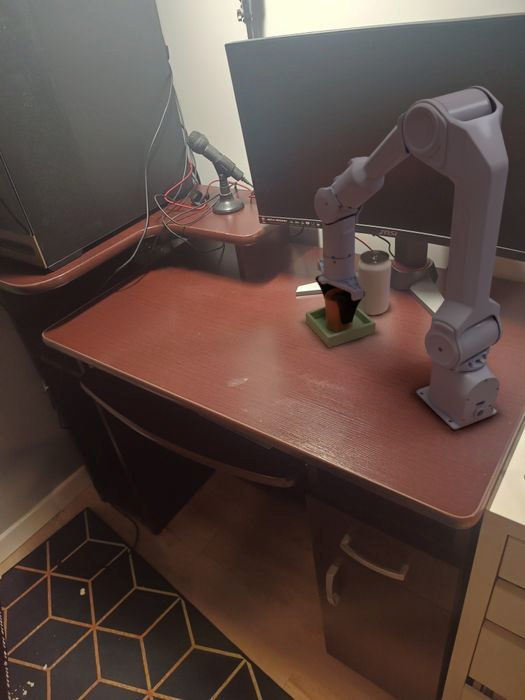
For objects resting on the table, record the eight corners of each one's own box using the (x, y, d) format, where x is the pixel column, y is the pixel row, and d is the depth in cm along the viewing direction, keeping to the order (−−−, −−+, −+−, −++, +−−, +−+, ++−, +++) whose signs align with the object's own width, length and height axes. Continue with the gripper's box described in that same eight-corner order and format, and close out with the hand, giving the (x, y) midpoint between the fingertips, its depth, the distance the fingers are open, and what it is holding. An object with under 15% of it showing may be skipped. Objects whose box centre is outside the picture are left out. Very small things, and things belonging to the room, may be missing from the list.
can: (386, 299, 100) (389, 248, 93) (390, 315, 95) (393, 262, 88) (356, 300, 101) (357, 249, 94) (358, 316, 96) (359, 264, 89)
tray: (375, 332, 91) (375, 322, 89) (328, 348, 88) (328, 337, 87) (349, 309, 98) (349, 299, 97) (306, 322, 96) (305, 312, 95)
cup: (358, 328, 91) (358, 297, 87) (333, 335, 90) (333, 305, 86) (344, 315, 96) (344, 285, 92) (321, 322, 94) (320, 292, 90)
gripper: (302, 243, 88) (305, 303, 96) (338, 273, 77) (339, 339, 85) (334, 234, 90) (335, 295, 98) (375, 263, 79) (372, 328, 87)
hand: (339, 315), depth 92 cm, fingers closed on cup, 5 cm apart
